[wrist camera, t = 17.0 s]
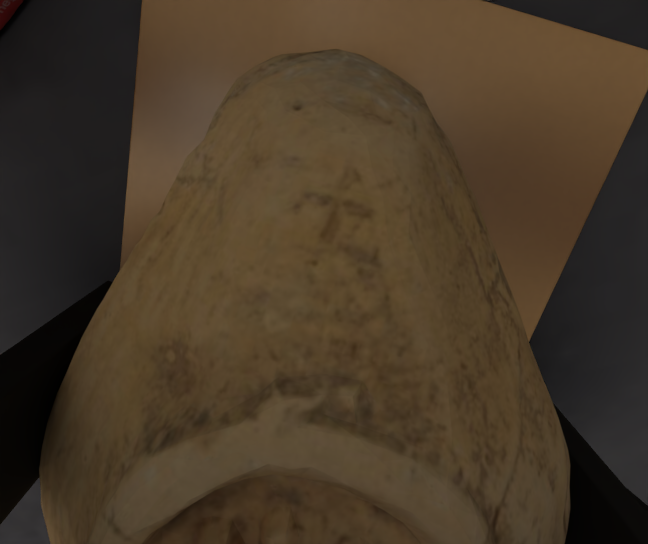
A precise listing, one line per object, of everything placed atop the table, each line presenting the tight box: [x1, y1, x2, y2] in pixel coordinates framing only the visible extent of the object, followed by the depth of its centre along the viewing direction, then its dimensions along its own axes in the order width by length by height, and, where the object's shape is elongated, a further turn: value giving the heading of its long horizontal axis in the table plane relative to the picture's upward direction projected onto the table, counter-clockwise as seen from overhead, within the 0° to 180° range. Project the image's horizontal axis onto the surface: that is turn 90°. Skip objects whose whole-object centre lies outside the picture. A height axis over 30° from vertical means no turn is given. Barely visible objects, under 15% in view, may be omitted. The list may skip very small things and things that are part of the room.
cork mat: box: [120, 0, 648, 341], centre depth 12 cm, size 20×12×1 cm, turn 166°
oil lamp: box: [39, 49, 570, 544], centre depth 9 cm, size 11×15×8 cm
